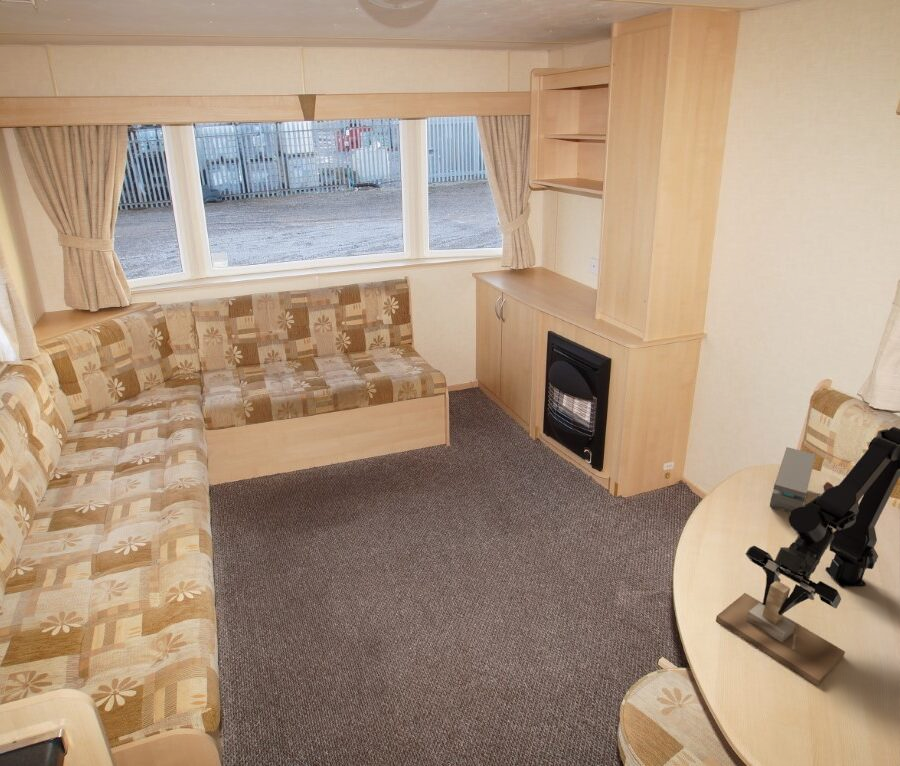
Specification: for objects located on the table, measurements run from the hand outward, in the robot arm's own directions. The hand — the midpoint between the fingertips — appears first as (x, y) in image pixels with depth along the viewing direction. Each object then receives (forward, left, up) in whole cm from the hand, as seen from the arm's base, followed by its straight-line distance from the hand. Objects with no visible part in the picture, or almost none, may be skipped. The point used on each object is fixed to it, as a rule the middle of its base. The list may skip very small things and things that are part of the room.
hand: (771, 609), depth 137 cm
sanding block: (-1, -1, -5) cm, 6 cm away
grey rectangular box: (-33, -50, -7) cm, 61 cm away
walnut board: (-2, +1, -7) cm, 8 cm away
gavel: (-46, -49, -8) cm, 68 cm away
